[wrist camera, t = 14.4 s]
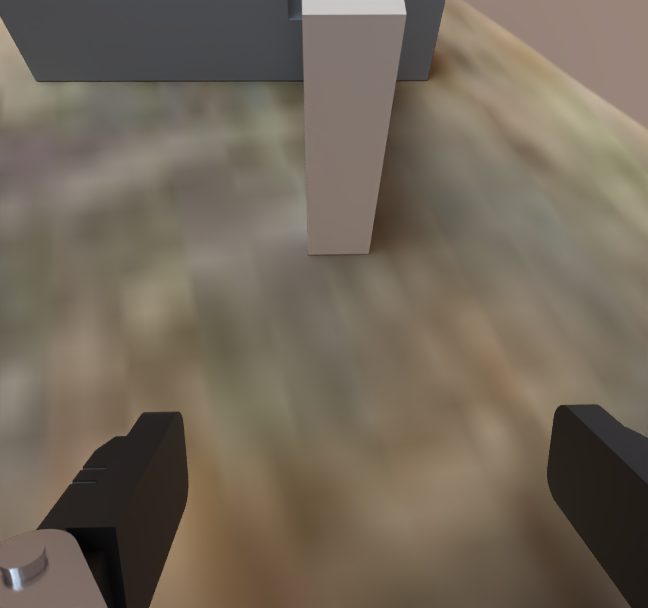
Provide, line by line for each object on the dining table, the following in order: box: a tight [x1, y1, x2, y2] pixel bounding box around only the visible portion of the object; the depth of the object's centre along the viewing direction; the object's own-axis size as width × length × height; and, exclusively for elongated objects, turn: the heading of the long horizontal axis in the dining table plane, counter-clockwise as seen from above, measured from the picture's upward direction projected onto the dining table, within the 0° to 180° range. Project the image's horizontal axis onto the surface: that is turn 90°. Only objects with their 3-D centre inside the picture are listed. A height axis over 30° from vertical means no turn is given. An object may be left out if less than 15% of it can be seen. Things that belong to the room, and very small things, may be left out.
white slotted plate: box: [302, 0, 407, 255], centre depth 20 cm, size 16×2×10 cm, turn 2°
